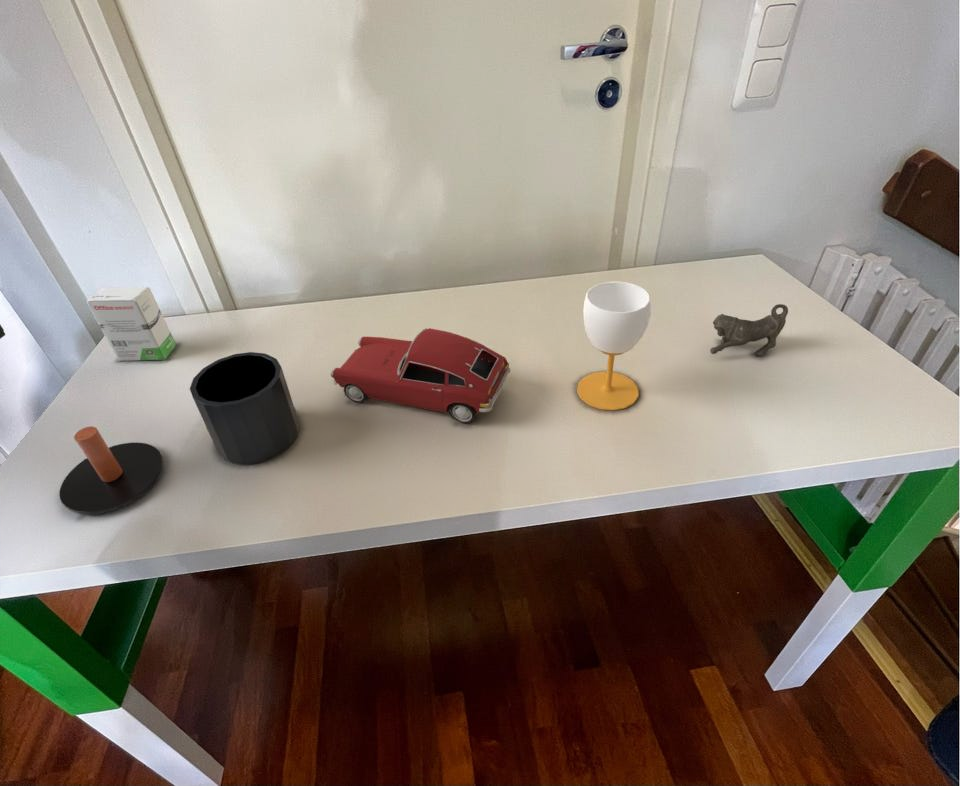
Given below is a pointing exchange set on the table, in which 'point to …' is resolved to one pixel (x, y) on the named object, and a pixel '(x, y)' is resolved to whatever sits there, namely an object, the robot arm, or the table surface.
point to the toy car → (425, 373)
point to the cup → (613, 340)
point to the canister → (246, 407)
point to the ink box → (132, 323)
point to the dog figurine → (749, 330)
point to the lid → (109, 474)
